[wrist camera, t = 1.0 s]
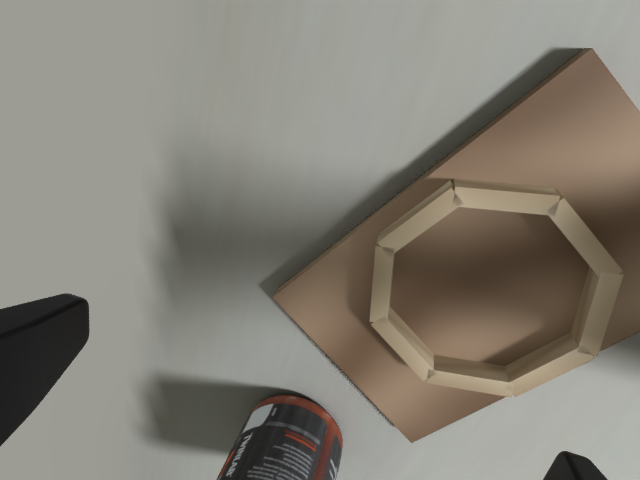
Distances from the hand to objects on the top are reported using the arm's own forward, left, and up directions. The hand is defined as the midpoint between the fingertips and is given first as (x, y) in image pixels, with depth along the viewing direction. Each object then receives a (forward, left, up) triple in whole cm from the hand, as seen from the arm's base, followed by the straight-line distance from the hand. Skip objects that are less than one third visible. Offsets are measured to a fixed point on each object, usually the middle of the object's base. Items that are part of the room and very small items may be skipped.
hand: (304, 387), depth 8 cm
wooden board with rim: (-6, -1, -14) cm, 15 cm away
